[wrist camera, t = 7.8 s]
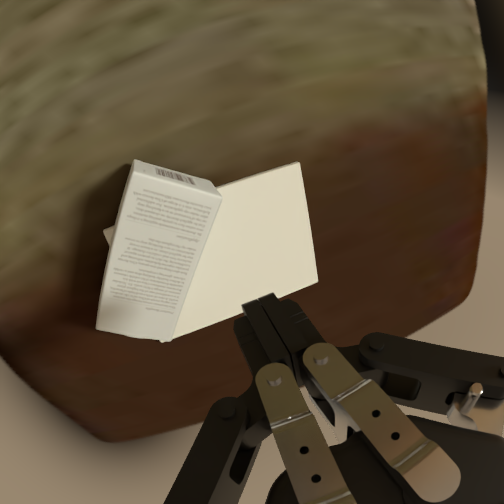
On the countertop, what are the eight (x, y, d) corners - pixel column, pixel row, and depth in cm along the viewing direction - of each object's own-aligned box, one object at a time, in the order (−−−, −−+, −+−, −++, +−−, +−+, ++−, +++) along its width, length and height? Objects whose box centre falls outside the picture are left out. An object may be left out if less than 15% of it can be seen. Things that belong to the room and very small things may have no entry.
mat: (103, 229, 22) (103, 231, 22) (297, 161, 25) (299, 162, 25) (160, 339, 29) (161, 342, 28) (316, 279, 31) (318, 281, 31)
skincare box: (133, 156, 20) (97, 298, 24) (132, 169, 17) (93, 331, 21) (212, 180, 23) (165, 311, 27) (227, 197, 20) (171, 344, 23)
